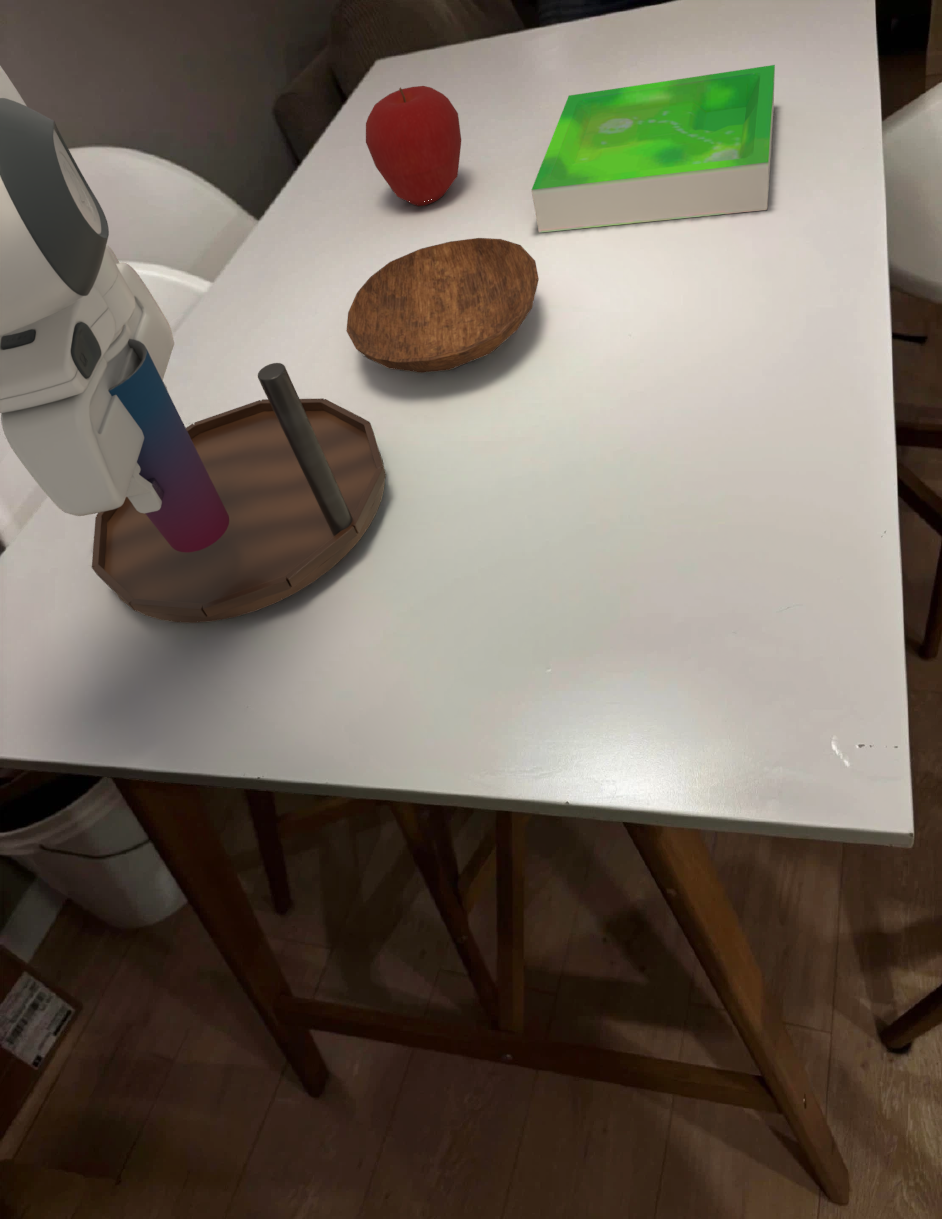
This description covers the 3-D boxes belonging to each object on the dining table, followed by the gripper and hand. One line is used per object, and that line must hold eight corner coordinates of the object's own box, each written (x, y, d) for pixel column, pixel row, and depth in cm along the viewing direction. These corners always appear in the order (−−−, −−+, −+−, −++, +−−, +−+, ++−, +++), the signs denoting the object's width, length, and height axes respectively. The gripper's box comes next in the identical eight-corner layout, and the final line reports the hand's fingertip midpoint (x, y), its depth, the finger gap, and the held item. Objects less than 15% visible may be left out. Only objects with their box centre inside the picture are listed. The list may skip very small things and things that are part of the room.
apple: (472, 209, 110) (446, 94, 101) (382, 228, 112) (348, 117, 103) (474, 167, 118) (450, 56, 108) (390, 185, 120) (359, 79, 110)
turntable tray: (411, 557, 70) (342, 384, 58) (98, 665, 70) (-36, 514, 58) (360, 384, 88) (299, 223, 75) (110, 470, 88) (9, 323, 75)
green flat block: (538, 232, 103) (531, 189, 99) (574, 135, 118) (568, 95, 114) (767, 209, 95) (768, 162, 91) (773, 108, 110) (774, 64, 106)
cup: (198, 571, 66) (91, 409, 55) (141, 547, 70) (29, 390, 59) (257, 511, 69) (166, 346, 58) (199, 491, 73) (103, 332, 62)
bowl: (547, 266, 97) (540, 222, 94) (545, 387, 83) (536, 341, 79) (376, 296, 101) (362, 255, 98) (346, 416, 87) (329, 374, 84)
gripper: (53, 237, 62) (149, 398, 73) (-45, 412, 49) (90, 580, 59) (136, 216, 62) (222, 381, 72) (60, 387, 48) (179, 561, 58)
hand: (162, 472), depth 65 cm, fingers closed on cup, 6 cm apart
